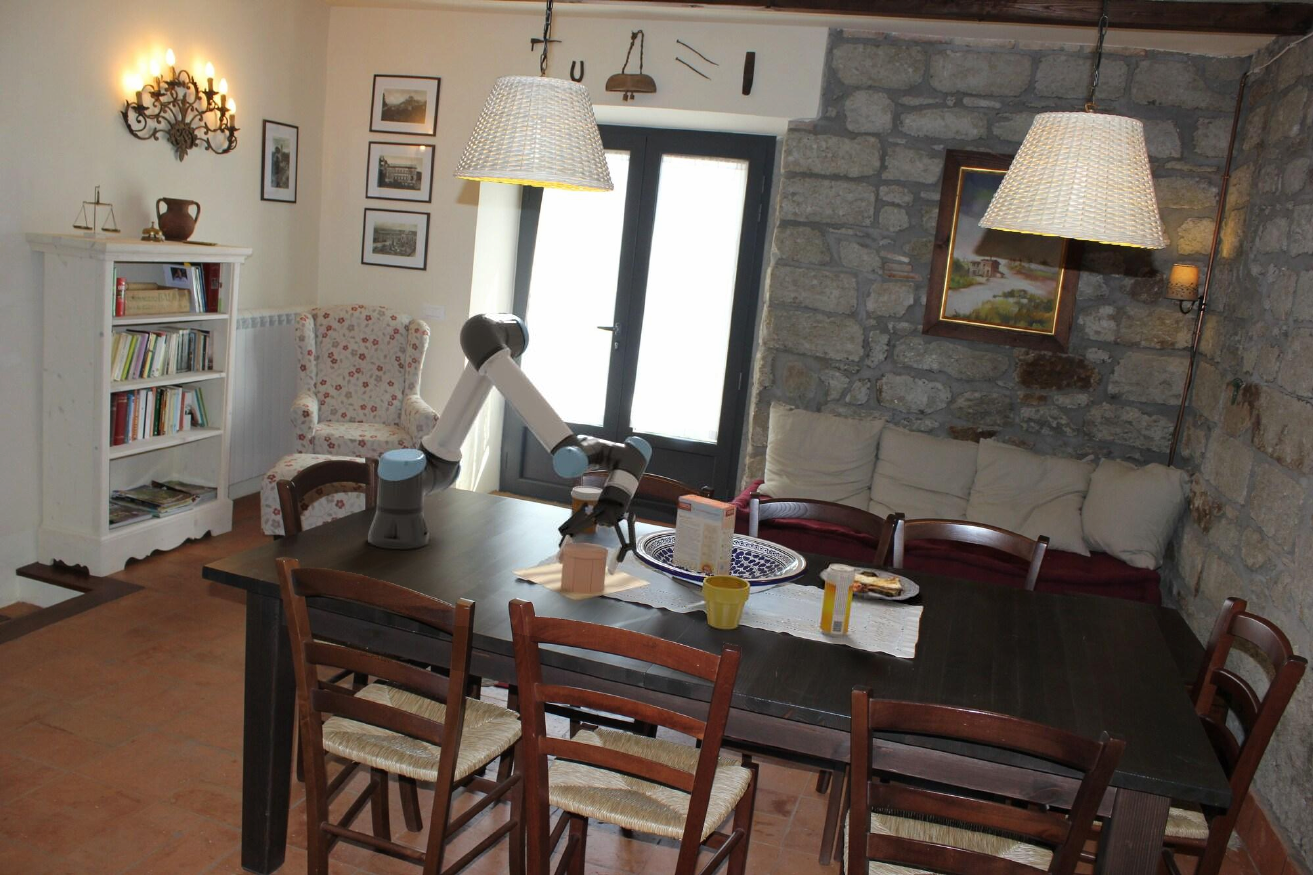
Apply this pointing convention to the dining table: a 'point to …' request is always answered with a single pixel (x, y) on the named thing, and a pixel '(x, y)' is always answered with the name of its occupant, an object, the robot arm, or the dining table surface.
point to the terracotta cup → (584, 568)
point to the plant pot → (725, 600)
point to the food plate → (880, 584)
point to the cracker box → (704, 535)
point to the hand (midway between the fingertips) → (584, 566)
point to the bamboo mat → (552, 580)
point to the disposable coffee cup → (585, 500)
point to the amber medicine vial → (837, 600)
